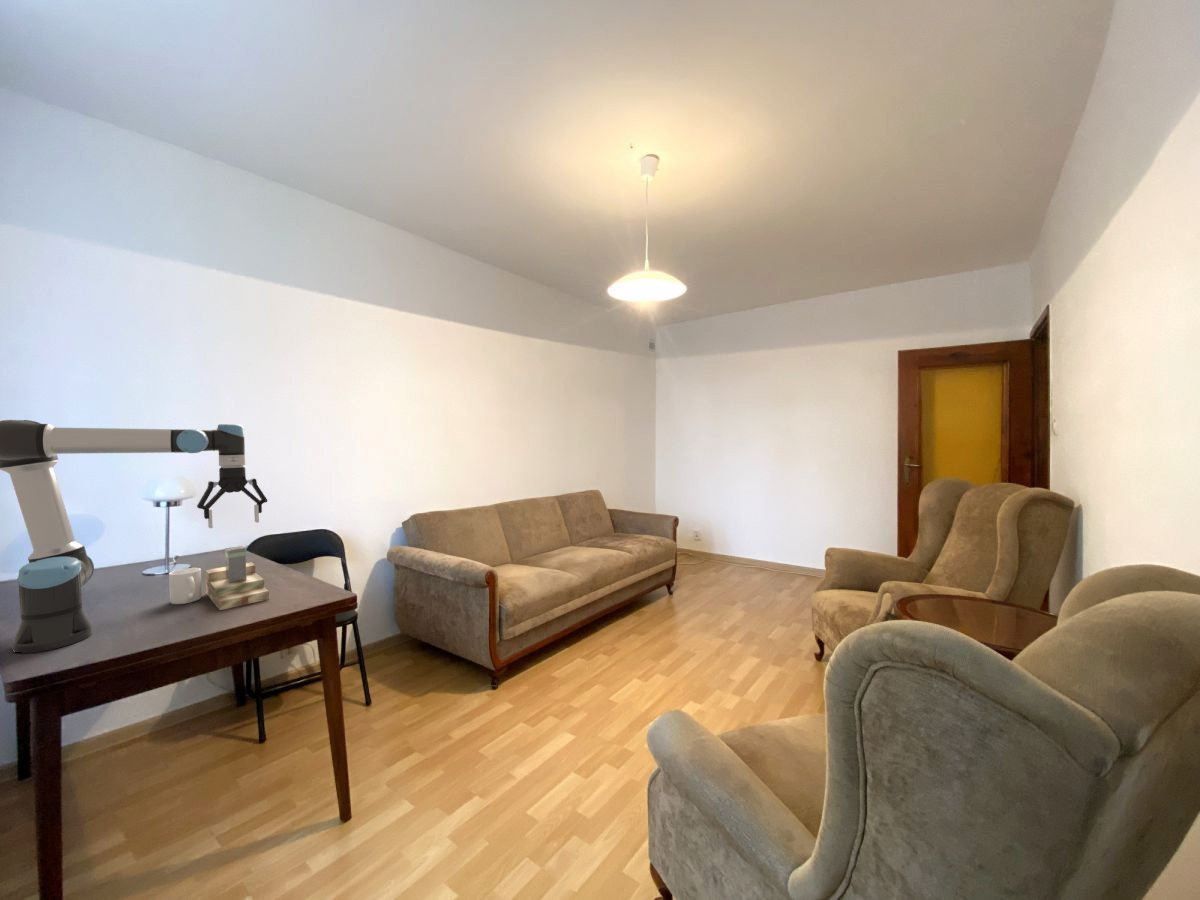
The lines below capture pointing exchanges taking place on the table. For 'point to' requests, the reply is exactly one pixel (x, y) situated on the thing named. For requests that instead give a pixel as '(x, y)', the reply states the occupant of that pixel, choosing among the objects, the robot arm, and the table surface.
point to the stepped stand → (235, 588)
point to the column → (235, 564)
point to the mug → (185, 585)
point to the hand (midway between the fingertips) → (234, 524)
